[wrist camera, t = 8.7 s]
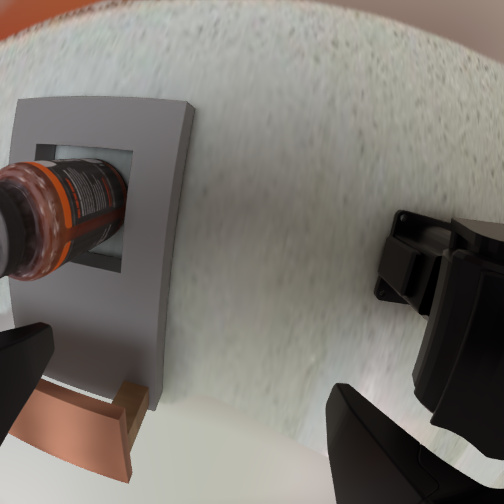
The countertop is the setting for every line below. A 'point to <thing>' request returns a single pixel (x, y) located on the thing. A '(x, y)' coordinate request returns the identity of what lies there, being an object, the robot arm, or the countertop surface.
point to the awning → (84, 426)
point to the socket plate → (134, 242)
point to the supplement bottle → (56, 213)
